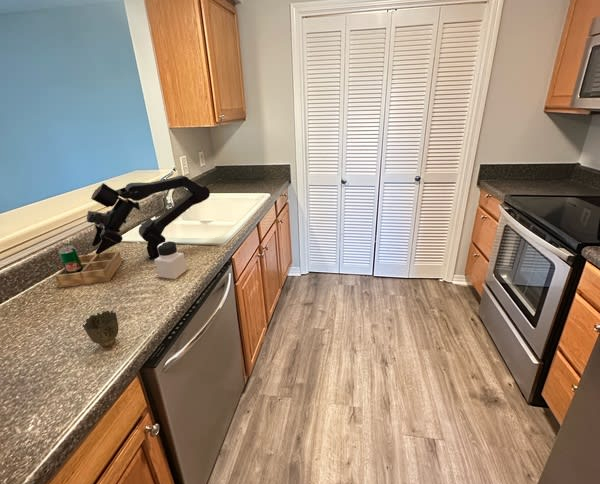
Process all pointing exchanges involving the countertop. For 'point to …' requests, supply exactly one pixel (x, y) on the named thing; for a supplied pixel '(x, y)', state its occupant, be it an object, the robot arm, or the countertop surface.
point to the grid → (91, 269)
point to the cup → (102, 328)
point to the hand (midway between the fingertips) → (94, 249)
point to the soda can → (70, 259)
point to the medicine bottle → (169, 261)
